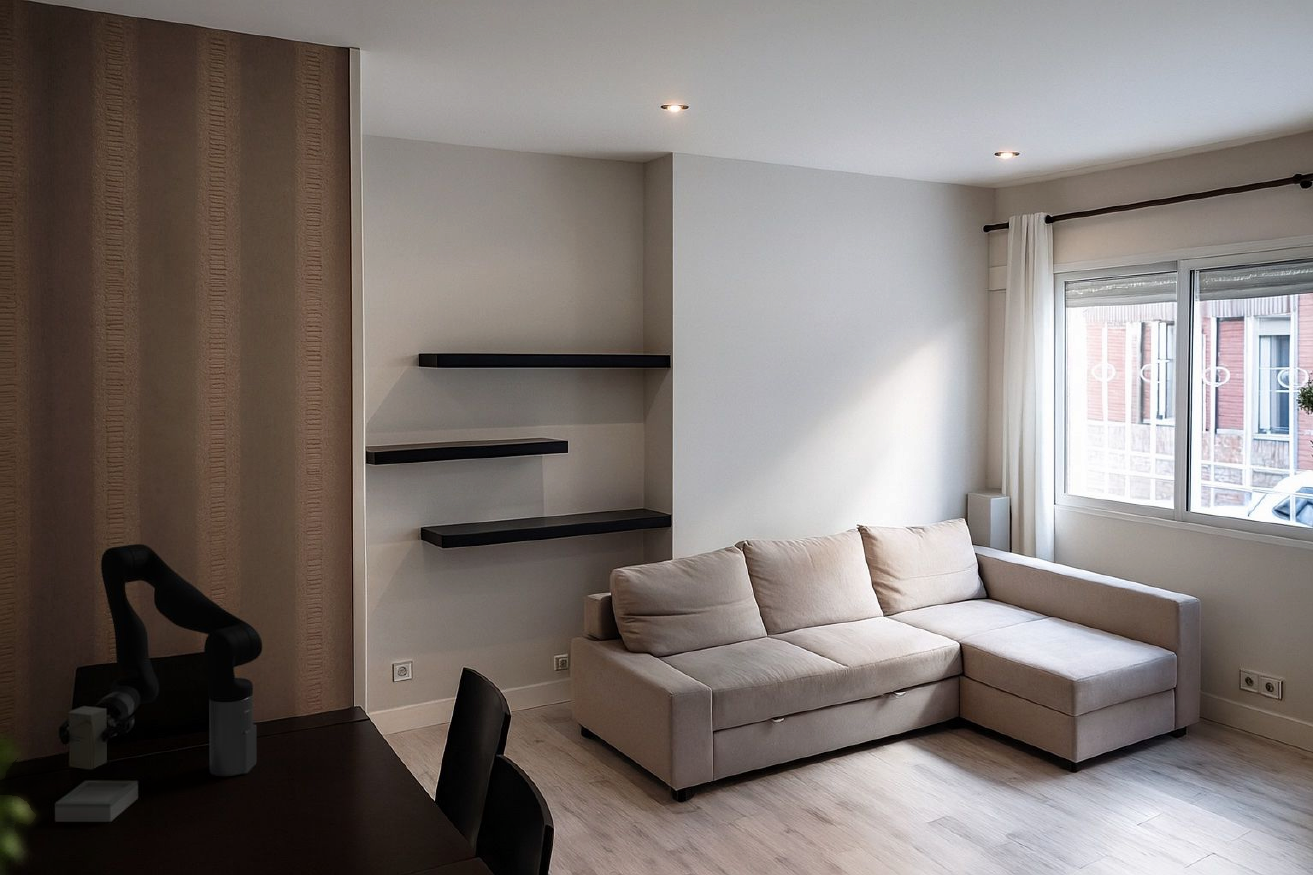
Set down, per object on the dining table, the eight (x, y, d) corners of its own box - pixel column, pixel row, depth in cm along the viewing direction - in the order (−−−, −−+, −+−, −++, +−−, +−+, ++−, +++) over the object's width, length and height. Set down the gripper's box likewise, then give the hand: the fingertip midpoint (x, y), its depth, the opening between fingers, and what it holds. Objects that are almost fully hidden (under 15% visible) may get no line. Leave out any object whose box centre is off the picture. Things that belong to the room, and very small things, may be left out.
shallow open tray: (138, 797, 203) (137, 780, 203) (110, 821, 192) (110, 803, 192) (85, 797, 203) (85, 780, 202) (55, 821, 192) (54, 803, 192)
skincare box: (68, 767, 204) (66, 712, 204) (85, 759, 209) (83, 705, 208) (92, 770, 203) (90, 714, 202) (109, 762, 207) (107, 707, 206)
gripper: (76, 698, 218) (46, 723, 201) (144, 694, 221) (120, 719, 204) (77, 730, 218) (47, 758, 202) (145, 726, 221) (121, 753, 205)
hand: (84, 738), depth 203 cm, fingers closed on skincare box, 7 cm apart
